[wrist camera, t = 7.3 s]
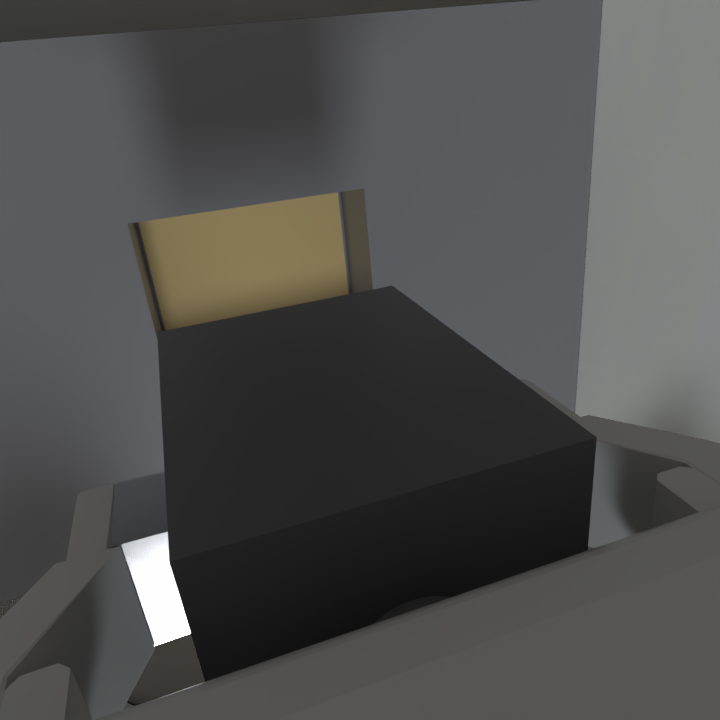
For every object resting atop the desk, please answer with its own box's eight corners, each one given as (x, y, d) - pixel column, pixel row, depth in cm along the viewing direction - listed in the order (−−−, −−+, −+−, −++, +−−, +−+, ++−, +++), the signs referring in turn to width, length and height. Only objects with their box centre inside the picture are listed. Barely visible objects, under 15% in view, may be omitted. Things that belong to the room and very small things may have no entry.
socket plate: (539, 9, 18) (603, -6, 16) (528, 406, 24) (572, 443, 22) (-231, 73, 14) (-322, 67, 11) (-13, 544, 20) (-39, 613, 17)
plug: (392, 285, 12) (768, 564, 5) (407, 473, 13) (690, 876, 6) (156, 331, 11) (181, 789, 4) (208, 529, 12) (290, 1085, 5)
